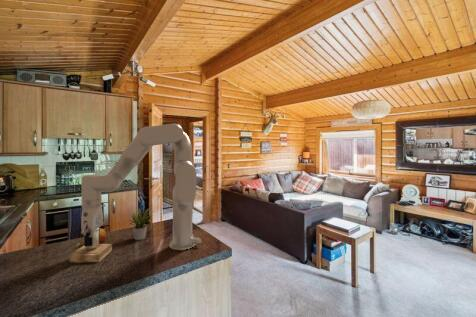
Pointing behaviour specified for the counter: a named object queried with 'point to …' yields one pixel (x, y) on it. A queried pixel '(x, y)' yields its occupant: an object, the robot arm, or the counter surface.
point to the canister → (94, 238)
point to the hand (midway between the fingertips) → (92, 242)
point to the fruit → (102, 236)
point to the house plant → (140, 225)
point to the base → (91, 253)
